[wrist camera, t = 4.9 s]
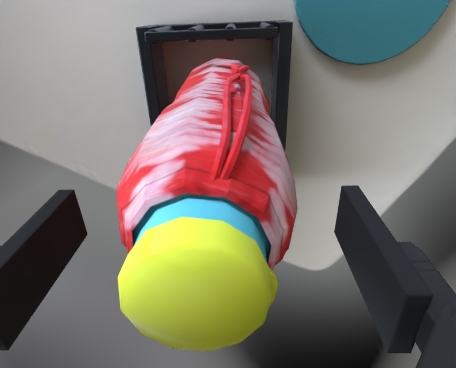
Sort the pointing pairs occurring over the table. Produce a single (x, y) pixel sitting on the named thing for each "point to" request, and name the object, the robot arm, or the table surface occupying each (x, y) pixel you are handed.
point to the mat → (367, 26)
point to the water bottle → (206, 213)
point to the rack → (155, 34)
